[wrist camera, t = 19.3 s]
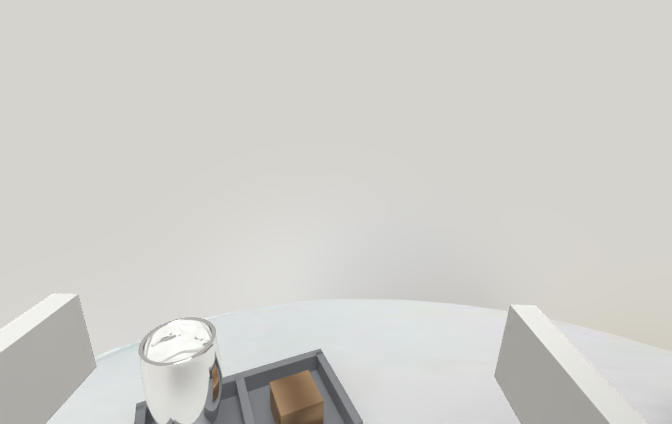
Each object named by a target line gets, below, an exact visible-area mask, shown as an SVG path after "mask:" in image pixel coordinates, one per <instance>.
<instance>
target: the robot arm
mask: <svg viewBox="0 0 672 424" xmlns="http://www.w3.org/2000/svg"><path fill="white" fill-rule="evenodd" d="M95 368H96V363H95V359H94V355H93V351H92V347H91V343H90V339H89V335H88V331H87V327H86V324H85V320H84V315H83V311H82V308H81V303H80V299H79V295H78V294H51V295H50V296H49V297H47V298H46V299H44V300H43V301H41V302H40V303H38V304H37V305H35V306H34V307H33V308H31V309H29V310H28V311H26V312H25V313H24V314H22V315H21V316H19V317H18V318H16V319H15V320H13V321H12V322H10V323H9V324H7V325H6V326H5V327H3V328H2V329H0V424H46V423H47V421H48V420H49V419H50V418H51V417H52V416H53V415H54V414H55V413H56V411H57V410H58V409H59V408H60V407H61V406H62V405H63V404H64V403H65V401H66V400H67V399H68V398H69V397H70V396H71V395H72V394H73V393H74V391H75V390H76V389H77V388H78V387H79V386H80V385H81V384H82V383H83V381H84V380H85V379H86V378H87V377H88V376H89V375H90V374H91V373H92V371H93V370H94V369H95ZM494 377H495V378H496V380H497V382H498V384H499V386H500V387H501V389H502V391H503V393H504V394H505V396H506V398H507V400H508V401H509V403H510V405H511V407H512V409H513V410H514V412H515V414H516V416H517V417H518V419H519V421H520V423H521V424H649V423H648V422H647V421H646V420H645V419H644V418H643V417H642V416H641V415H640V414H639V413H638V412H637V411H636V410H635V409H634V408H633V407H632V406H631V405H630V404H629V403H628V401H627V400H626V399H625V398H624V397H623V396H622V395H621V394H620V393H619V392H618V391H617V390H616V389H615V388H614V387H613V386H612V385H611V384H610V383H609V382H608V381H607V380H606V379H605V378H604V376H603V375H602V374H601V373H600V372H599V371H598V370H597V369H596V368H595V367H594V366H593V365H592V364H591V363H590V362H589V361H588V360H587V359H586V358H585V357H584V356H583V355H582V354H581V352H580V351H579V350H578V349H577V348H576V347H575V346H574V345H573V344H572V343H571V342H570V341H569V340H568V339H567V338H566V337H565V336H564V335H563V334H562V333H561V332H560V331H559V330H558V328H557V327H556V326H555V325H554V324H553V323H552V322H551V321H550V320H549V319H548V318H547V317H546V316H545V315H544V314H543V313H542V312H541V311H540V310H539V309H538V308H537V307H536V306H535V305H510V308H509V312H508V317H507V321H506V326H505V330H504V335H503V339H502V344H501V348H500V353H499V357H498V362H497V366H496V371H495V375H494Z"/></svg>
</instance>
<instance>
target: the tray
mask: <svg viewBox="0 0 672 424" xmlns="http://www.w3.org/2000/svg"><path fill="white" fill-rule="evenodd" d="M306 370H309V372H310V374H311V376H312V378H313V380H314V382H315V384H316V386H317V388H318V390H319V392H320V394H321V396H322V398H323V400H324V414H323V424H363V421H362V419H361V417H360V416H359V414H358V412H357V410H356V409H355V407H354V405H353V404H352V402H351V400H350V398H349V397H348V395H347V393H346V392H345V390H344V388H343V386H342V385H341V383H340V381H339V380H338V378H337V376H336V375H335V373H334V371H333V369H332V368H331V366H330V364H329V363H328V361H327V359H326V357H325V356H324V354H323V352H322V351H321V349H318V350H315V351H311V352H308V353H304V354H301V355H298V356H294V357H291V358H288V359H284V360H281V361H278V362H274V363H271V364H268V365H264V366H261V367H258V368H254V369H251V370H247V371H244V372H241V373H237V374H234V375H231V376H227V377H224V378H222V392H221V401H220V409H219V424H276V423H275V420H274V417H273V414H272V411H271V406H270V385H269V382H272V381H275V380H278V379H281V378H284V377H287V376H291V375H294V374H297V373H300V372H303V371H306ZM134 424H156V423H155V421H154V419H153V417H152V415H151V413H150V410H149V408H148V405H147V403H146V401H144V402H140V403H137V404H136V413H135V422H134Z"/></svg>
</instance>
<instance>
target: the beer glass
mask: <svg viewBox="0 0 672 424" xmlns="http://www.w3.org/2000/svg"><path fill="white" fill-rule="evenodd" d="M139 356H140V368H141V379H142V385H143V391H144V395H145V399H146V403H147V405H148V408H149V410H150V413H151V415H152V417H153V419H154V421H155V423H156V424H219V409H220V401H221V392H222V363H221V356H220V351H219V346H218V341H217V337H216V330H215V327H214V326H213V324H212V323H210V322H209V321H207V320H205V319H201V318H192V317H191V318H181V319H176V320H173V321H170V322H167V323H165V324H163V325H160V326H159V327H157V328H155V329H154V330H152V331H151V332H150V333H148V334H147V335H146V336H145V337H144V339H143V340H142V342H141V343H140V346H139Z"/></svg>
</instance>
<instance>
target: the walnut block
mask: <svg viewBox="0 0 672 424" xmlns="http://www.w3.org/2000/svg"><path fill="white" fill-rule="evenodd" d="M269 385H270V406H271V411H272V414H273V417H274V420H275V423H276V424H323V414H324V400H323V398H322V396H321V394H320V392H319V390H318V388H317V386H316V384H315V382H314V380H313V378H312V376H311V374H310V372H309V370H306V371H303V372H300V373H297V374H294V375H291V376H287V377H284V378H281V379H278V380H275V381H272V382H269Z"/></svg>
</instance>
